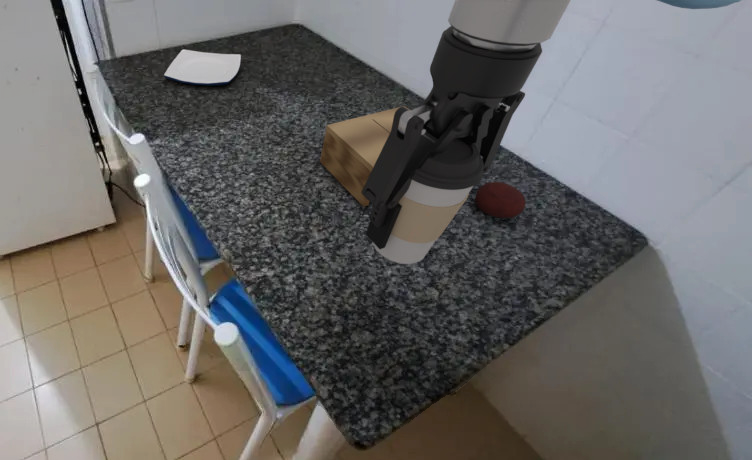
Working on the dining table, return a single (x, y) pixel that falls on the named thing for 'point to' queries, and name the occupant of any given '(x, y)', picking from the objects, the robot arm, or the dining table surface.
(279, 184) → the dining table surface
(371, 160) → the board
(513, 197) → the potato
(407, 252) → the coffee cup
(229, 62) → the plate
